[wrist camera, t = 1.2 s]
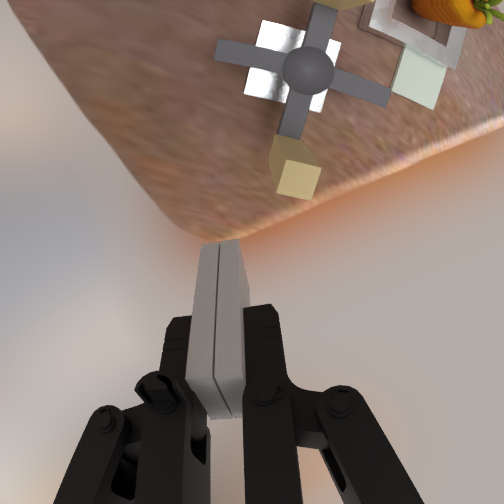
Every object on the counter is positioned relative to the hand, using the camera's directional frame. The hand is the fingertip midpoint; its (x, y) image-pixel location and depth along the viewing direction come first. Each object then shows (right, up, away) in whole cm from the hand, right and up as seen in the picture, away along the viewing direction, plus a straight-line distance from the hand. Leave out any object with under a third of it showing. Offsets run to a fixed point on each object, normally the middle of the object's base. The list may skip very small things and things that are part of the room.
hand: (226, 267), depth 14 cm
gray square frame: (+19, +27, +9) cm, 34 cm away
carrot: (+19, +27, +10) cm, 34 cm away
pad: (+20, +20, +14) cm, 31 cm away
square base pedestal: (+5, +19, +14) cm, 24 cm away
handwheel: (+5, +15, +8) cm, 18 cm away
